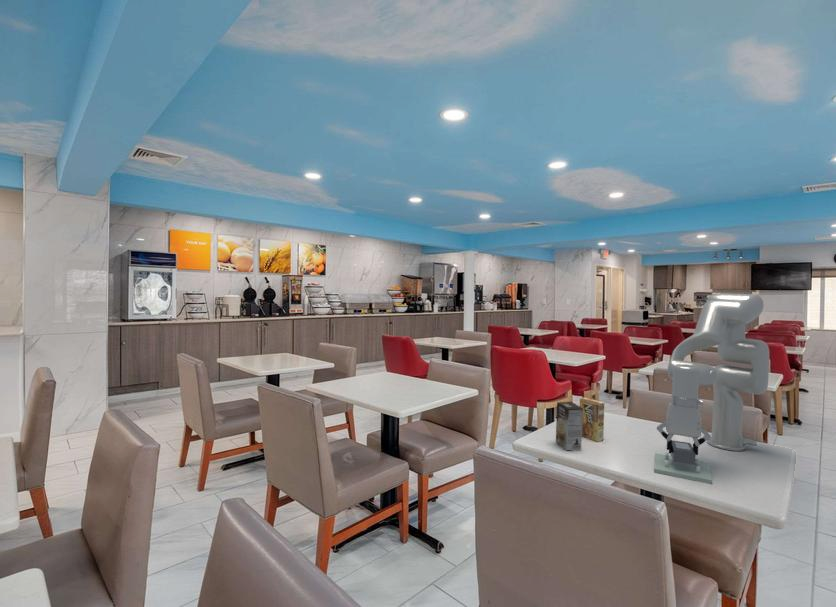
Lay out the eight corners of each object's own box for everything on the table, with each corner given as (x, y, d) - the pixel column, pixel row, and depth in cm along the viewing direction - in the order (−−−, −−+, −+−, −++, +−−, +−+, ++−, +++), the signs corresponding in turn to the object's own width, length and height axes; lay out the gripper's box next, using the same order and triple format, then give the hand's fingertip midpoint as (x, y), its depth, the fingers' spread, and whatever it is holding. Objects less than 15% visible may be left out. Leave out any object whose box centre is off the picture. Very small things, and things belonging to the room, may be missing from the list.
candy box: (603, 440, 174) (605, 402, 174) (597, 442, 172) (598, 403, 171) (584, 433, 182) (585, 397, 181) (578, 435, 179) (579, 398, 179)
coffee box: (554, 442, 171) (556, 401, 170) (570, 441, 172) (571, 401, 171) (566, 451, 162) (567, 408, 161) (582, 450, 163) (583, 408, 162)
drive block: (689, 454, 151) (690, 442, 150) (694, 464, 141) (695, 452, 141) (669, 451, 153) (670, 439, 153) (673, 461, 144) (673, 449, 144)
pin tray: (707, 466, 151) (708, 456, 150) (712, 484, 137) (712, 474, 137) (654, 456, 158) (655, 447, 158) (654, 472, 145) (654, 462, 144)
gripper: (714, 403, 146) (711, 456, 146) (655, 395, 154) (653, 445, 155) (716, 408, 139) (713, 463, 140) (655, 400, 148) (652, 452, 148)
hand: (681, 453), depth 147 cm, fingers closed on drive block, 6 cm apart
